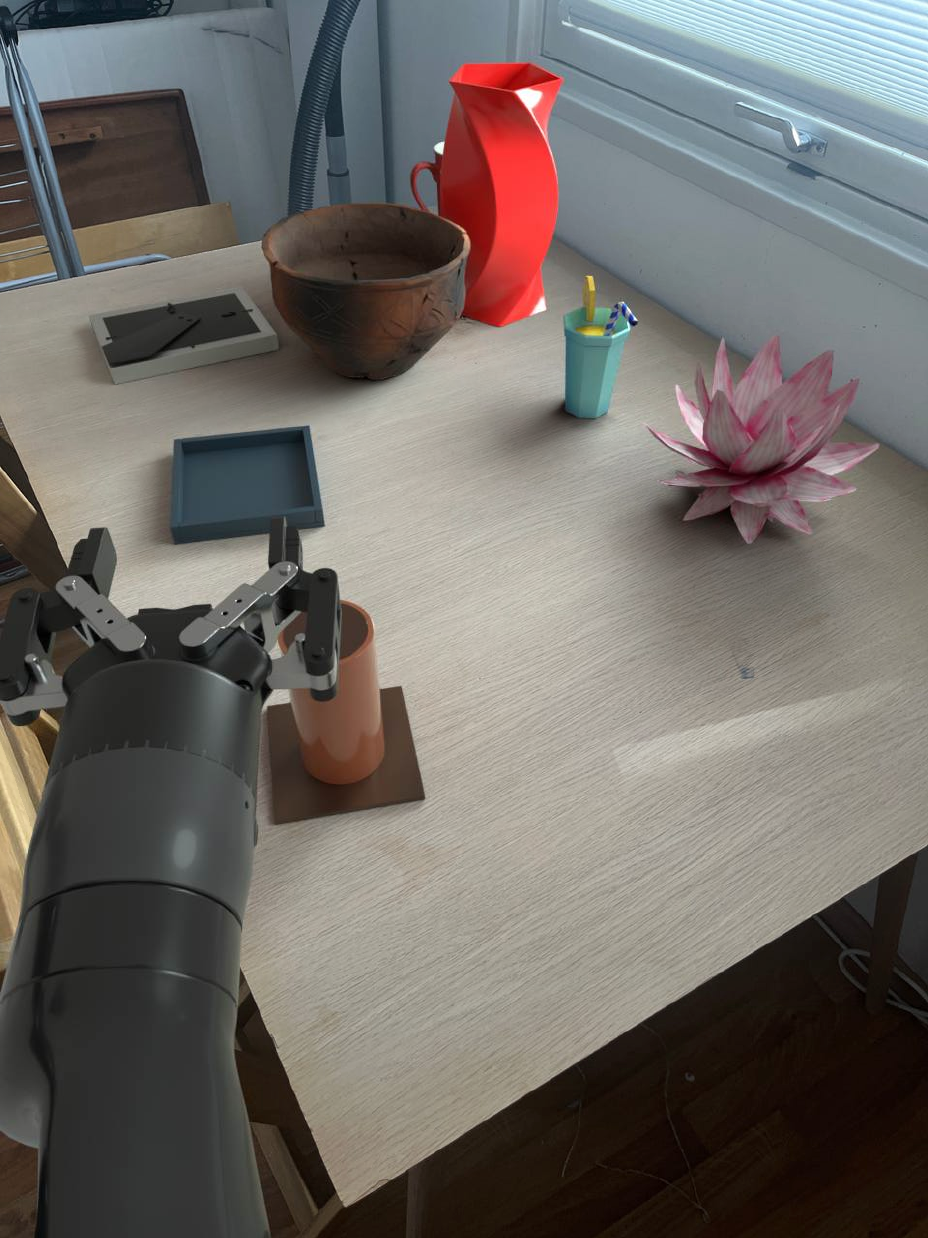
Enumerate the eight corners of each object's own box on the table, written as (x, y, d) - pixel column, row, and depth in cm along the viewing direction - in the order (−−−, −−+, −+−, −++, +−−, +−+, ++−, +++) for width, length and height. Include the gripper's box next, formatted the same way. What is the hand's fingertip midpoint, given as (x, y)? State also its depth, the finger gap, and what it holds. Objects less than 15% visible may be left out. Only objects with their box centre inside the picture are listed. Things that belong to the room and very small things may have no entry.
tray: (174, 544, 85) (169, 527, 84) (177, 455, 96) (173, 438, 95) (324, 526, 88) (322, 509, 86) (311, 441, 99) (309, 424, 97)
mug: (484, 227, 144) (486, 136, 134) (496, 249, 137) (499, 155, 128) (408, 232, 142) (405, 140, 133) (416, 254, 136) (413, 160, 126)
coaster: (275, 825, 63) (274, 822, 63) (267, 709, 71) (266, 706, 71) (425, 799, 65) (425, 796, 65) (402, 688, 73) (401, 685, 72)
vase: (555, 322, 120) (576, 89, 100) (452, 332, 117) (452, 95, 98) (524, 276, 130) (537, 57, 111) (429, 285, 128) (425, 62, 108)
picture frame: (114, 384, 107) (279, 349, 114) (108, 363, 105) (276, 328, 112) (92, 329, 117) (245, 300, 124) (86, 309, 115) (241, 280, 122)
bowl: (509, 346, 115) (515, 228, 104) (388, 429, 100) (381, 301, 90) (364, 296, 125) (356, 183, 114) (236, 364, 111) (213, 243, 100)
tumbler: (283, 758, 67) (256, 639, 58) (338, 705, 71) (321, 585, 61) (348, 799, 64) (331, 681, 55) (401, 742, 68) (393, 622, 59)
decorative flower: (776, 431, 101) (814, 304, 90) (891, 545, 86) (953, 411, 76) (604, 460, 96) (623, 330, 86) (695, 586, 82) (731, 449, 71)
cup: (647, 435, 100) (670, 308, 89) (585, 447, 98) (601, 320, 88) (593, 376, 109) (608, 256, 99) (535, 387, 107) (545, 265, 97)
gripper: (337, 736, 30) (330, 464, 42) (-99, 774, 29) (17, 481, 40) (353, 850, 35) (343, 581, 47) (-15, 887, 34) (67, 600, 45)
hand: (193, 535), depth 44 cm, fingers open, 8 cm apart
